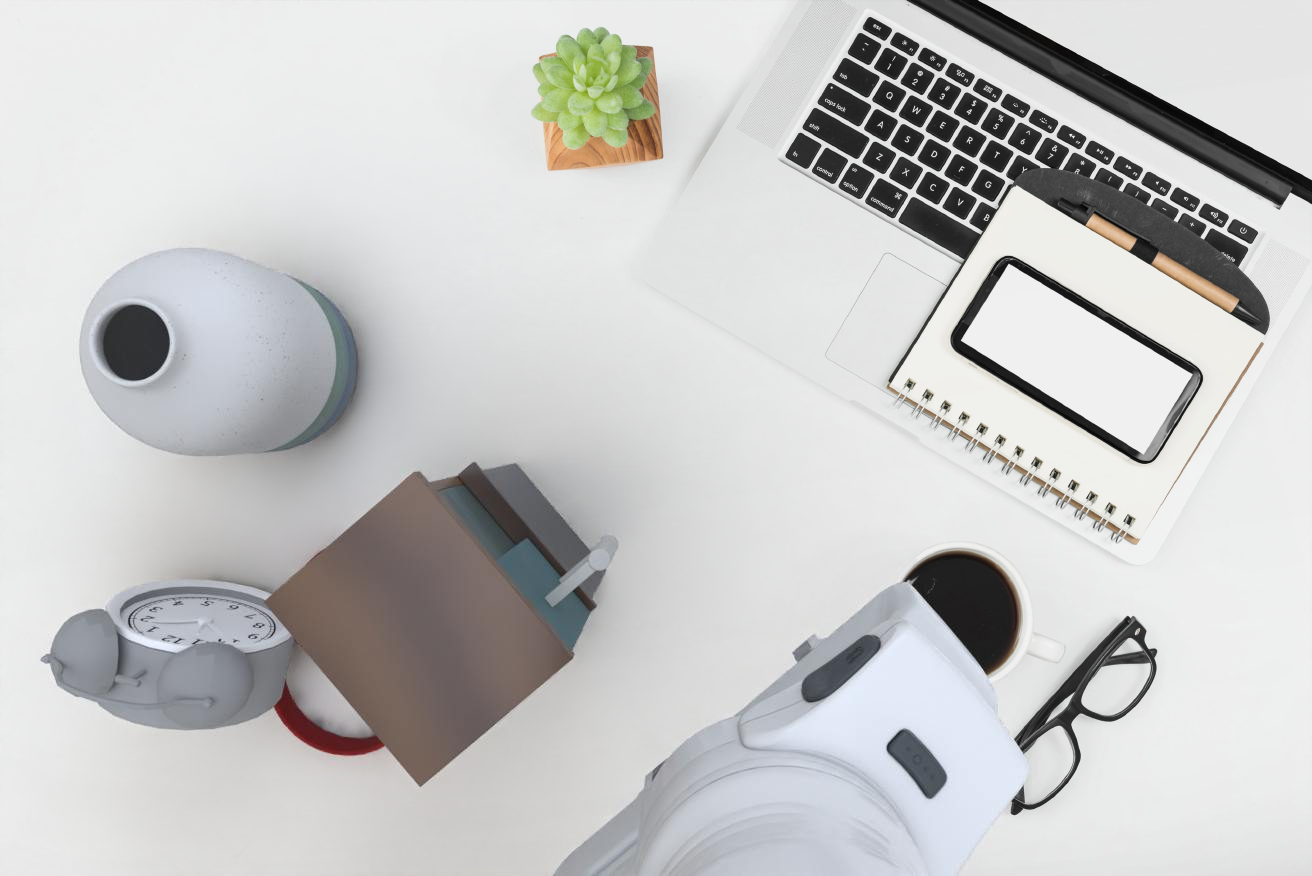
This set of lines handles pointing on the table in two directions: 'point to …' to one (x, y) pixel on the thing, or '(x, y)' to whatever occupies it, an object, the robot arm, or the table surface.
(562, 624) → the sliding door
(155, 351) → the vase
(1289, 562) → the table surface
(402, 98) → the table surface
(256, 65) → the table surface
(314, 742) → the headphones
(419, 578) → the cabinet
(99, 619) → the alarm clock
